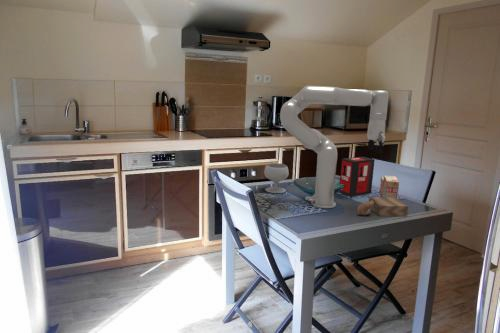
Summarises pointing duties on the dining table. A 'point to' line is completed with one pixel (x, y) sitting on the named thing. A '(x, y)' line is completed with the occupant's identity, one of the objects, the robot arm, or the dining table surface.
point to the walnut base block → (389, 206)
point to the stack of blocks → (389, 186)
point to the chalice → (276, 176)
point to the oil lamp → (365, 207)
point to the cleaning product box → (356, 176)
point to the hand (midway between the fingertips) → (374, 151)
